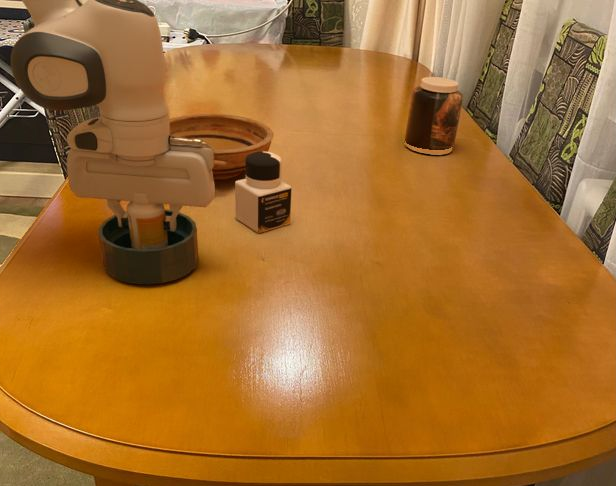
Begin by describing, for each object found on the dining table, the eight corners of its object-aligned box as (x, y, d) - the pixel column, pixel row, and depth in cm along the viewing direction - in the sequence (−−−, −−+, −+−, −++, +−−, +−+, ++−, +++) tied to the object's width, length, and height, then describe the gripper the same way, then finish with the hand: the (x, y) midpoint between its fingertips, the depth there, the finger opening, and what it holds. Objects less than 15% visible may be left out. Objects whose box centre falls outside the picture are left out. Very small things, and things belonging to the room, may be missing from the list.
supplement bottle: (175, 248, 93) (170, 187, 87) (151, 261, 89) (144, 199, 84) (149, 238, 95) (142, 178, 89) (124, 251, 91) (115, 190, 86)
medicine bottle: (258, 234, 104) (258, 165, 97) (234, 219, 108) (233, 152, 101) (290, 224, 108) (293, 157, 100) (267, 210, 112) (268, 145, 105)
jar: (399, 151, 142) (409, 83, 133) (408, 136, 151) (418, 72, 142) (449, 159, 140) (462, 90, 131) (456, 144, 149) (469, 79, 140)
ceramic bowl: (169, 143, 138) (166, 106, 133) (275, 149, 139) (276, 112, 134) (141, 194, 114) (136, 152, 109) (269, 201, 115) (270, 159, 110)
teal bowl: (90, 283, 88) (83, 246, 85) (121, 239, 100) (116, 205, 96) (187, 291, 88) (184, 254, 84) (206, 246, 99) (204, 212, 96)
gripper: (217, 132, 84) (220, 224, 92) (72, 121, 85) (88, 213, 93) (208, 147, 79) (212, 243, 87) (54, 135, 79) (73, 231, 88)
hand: (147, 227), depth 90 cm, fingers closed on supplement bottle, 5 cm apart
